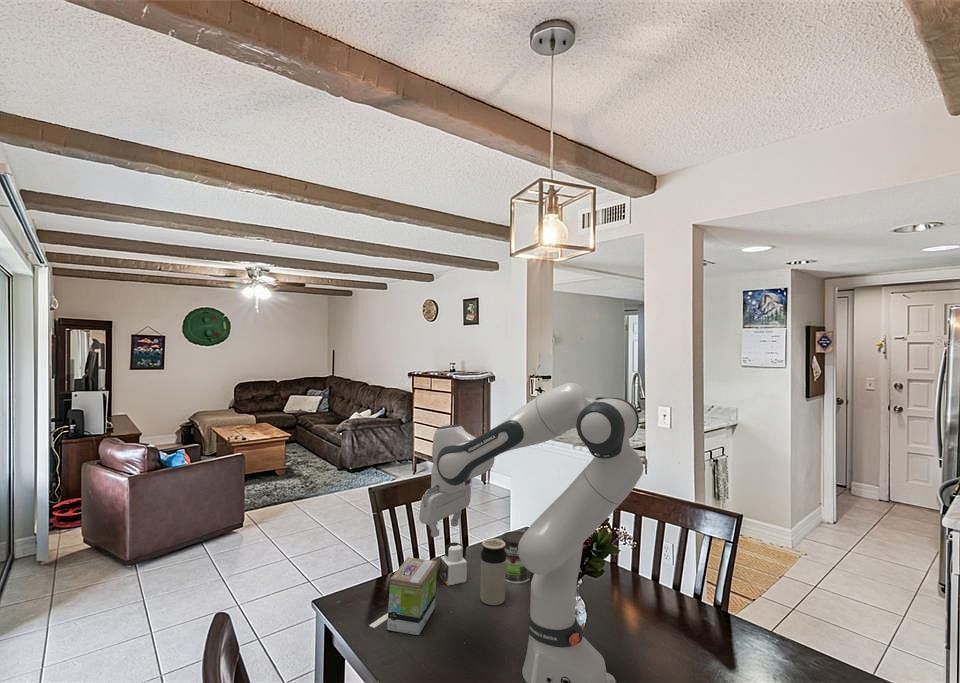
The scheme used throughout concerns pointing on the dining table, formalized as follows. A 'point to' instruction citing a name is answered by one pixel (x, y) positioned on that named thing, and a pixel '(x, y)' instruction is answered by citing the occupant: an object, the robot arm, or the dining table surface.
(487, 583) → the travel mug
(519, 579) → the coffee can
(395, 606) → the tea box
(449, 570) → the medicine bottle
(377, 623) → the strip
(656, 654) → the dining table surface
